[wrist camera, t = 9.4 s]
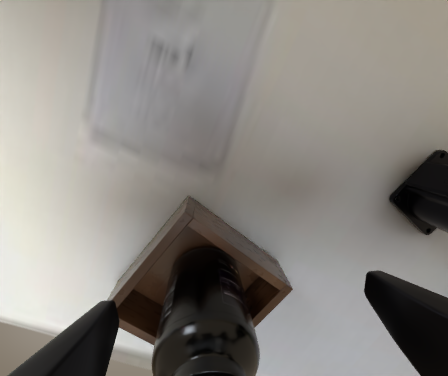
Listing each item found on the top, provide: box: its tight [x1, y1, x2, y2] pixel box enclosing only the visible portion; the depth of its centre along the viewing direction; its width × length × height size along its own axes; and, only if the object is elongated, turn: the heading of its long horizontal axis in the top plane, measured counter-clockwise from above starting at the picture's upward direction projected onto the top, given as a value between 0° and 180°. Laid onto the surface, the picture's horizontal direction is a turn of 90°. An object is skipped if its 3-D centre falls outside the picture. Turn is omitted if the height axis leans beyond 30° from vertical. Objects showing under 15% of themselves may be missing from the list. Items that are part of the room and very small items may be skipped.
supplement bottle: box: [152, 248, 260, 376], centre depth 16 cm, size 7×7×12 cm
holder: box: [108, 196, 293, 345], centre depth 20 cm, size 12×12×4 cm
